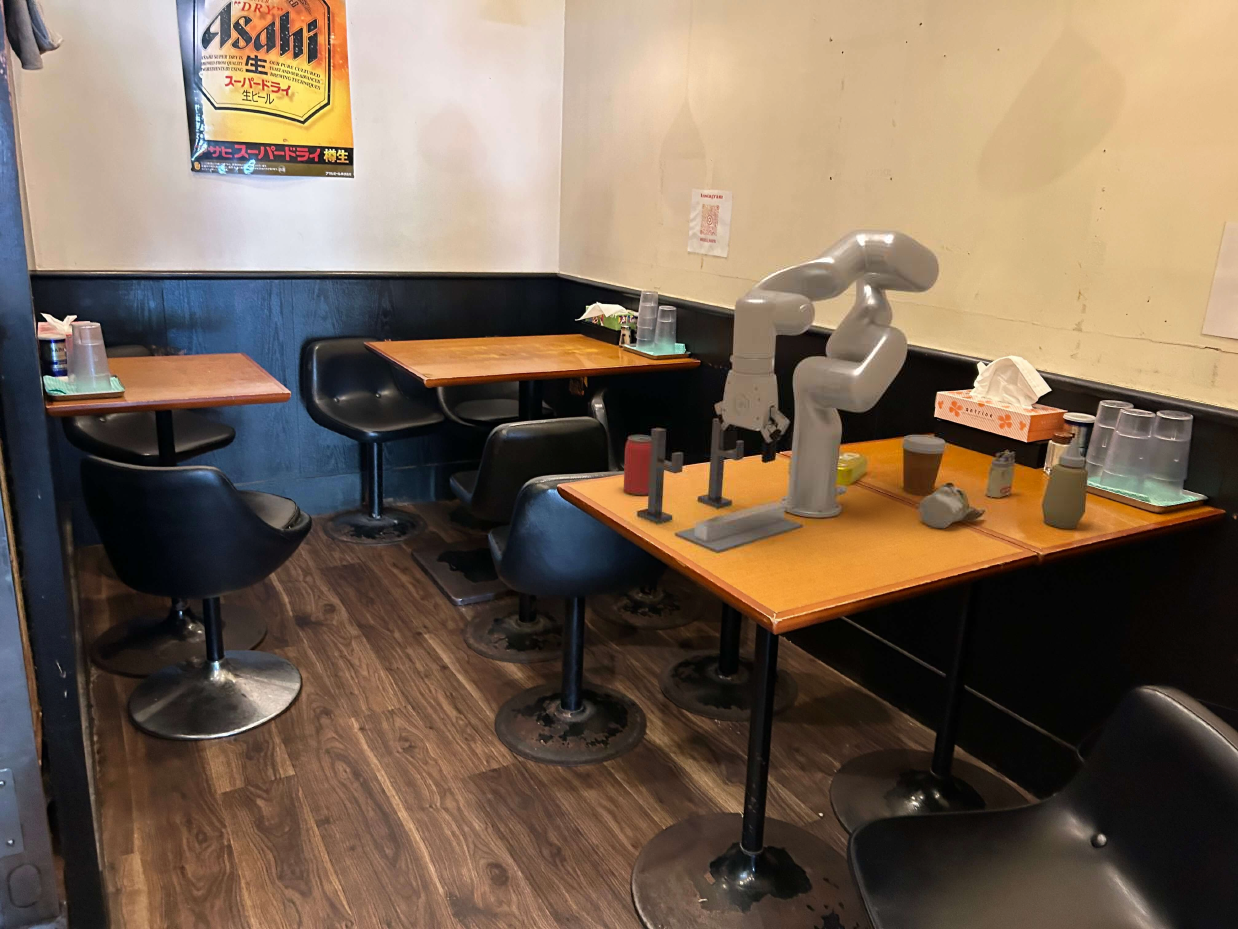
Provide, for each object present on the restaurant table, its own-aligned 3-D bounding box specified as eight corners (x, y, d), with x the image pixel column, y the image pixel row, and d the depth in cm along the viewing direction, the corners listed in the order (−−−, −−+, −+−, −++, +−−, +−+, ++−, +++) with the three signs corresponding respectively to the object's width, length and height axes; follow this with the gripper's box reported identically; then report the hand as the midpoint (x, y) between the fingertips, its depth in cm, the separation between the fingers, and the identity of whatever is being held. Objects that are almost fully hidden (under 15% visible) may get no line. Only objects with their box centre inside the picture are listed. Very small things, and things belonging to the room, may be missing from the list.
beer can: (651, 497, 188) (653, 442, 185) (620, 494, 189) (622, 440, 186) (656, 488, 194) (658, 435, 191) (626, 485, 195) (628, 433, 192)
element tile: (808, 462, 221) (809, 444, 220) (867, 473, 213) (869, 454, 212) (785, 476, 209) (787, 456, 207) (847, 487, 201) (850, 467, 200)
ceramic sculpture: (909, 480, 176) (943, 472, 186) (902, 522, 178) (936, 511, 188) (961, 494, 168) (993, 484, 179) (953, 537, 170) (985, 525, 181)
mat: (759, 512, 181) (760, 509, 181) (802, 527, 173) (802, 524, 173) (674, 535, 166) (674, 532, 166) (717, 553, 158) (717, 550, 158)
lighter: (997, 499, 195) (1004, 456, 192) (981, 495, 198) (987, 452, 195) (1013, 494, 200) (1020, 451, 197) (997, 490, 202) (1004, 447, 200)
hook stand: (710, 497, 189) (716, 415, 184) (742, 508, 183) (748, 423, 178) (636, 515, 176) (640, 427, 171) (667, 528, 169) (672, 437, 165)
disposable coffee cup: (893, 493, 197) (900, 441, 194) (897, 482, 205) (904, 432, 202) (939, 500, 193) (946, 446, 190) (941, 488, 202) (948, 437, 199)
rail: (772, 515, 177) (773, 501, 177) (784, 520, 175) (785, 505, 174) (694, 537, 163) (695, 522, 163) (706, 542, 161) (707, 527, 160)
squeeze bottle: (1064, 533, 175) (1080, 445, 170) (1029, 521, 182) (1044, 435, 177) (1091, 528, 178) (1107, 441, 173) (1055, 516, 185) (1070, 432, 180)
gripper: (704, 360, 165) (701, 449, 170) (776, 375, 152) (770, 470, 157) (732, 356, 170) (728, 442, 175) (804, 369, 157) (798, 462, 162)
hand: (748, 455), depth 166 cm, fingers open, 9 cm apart
